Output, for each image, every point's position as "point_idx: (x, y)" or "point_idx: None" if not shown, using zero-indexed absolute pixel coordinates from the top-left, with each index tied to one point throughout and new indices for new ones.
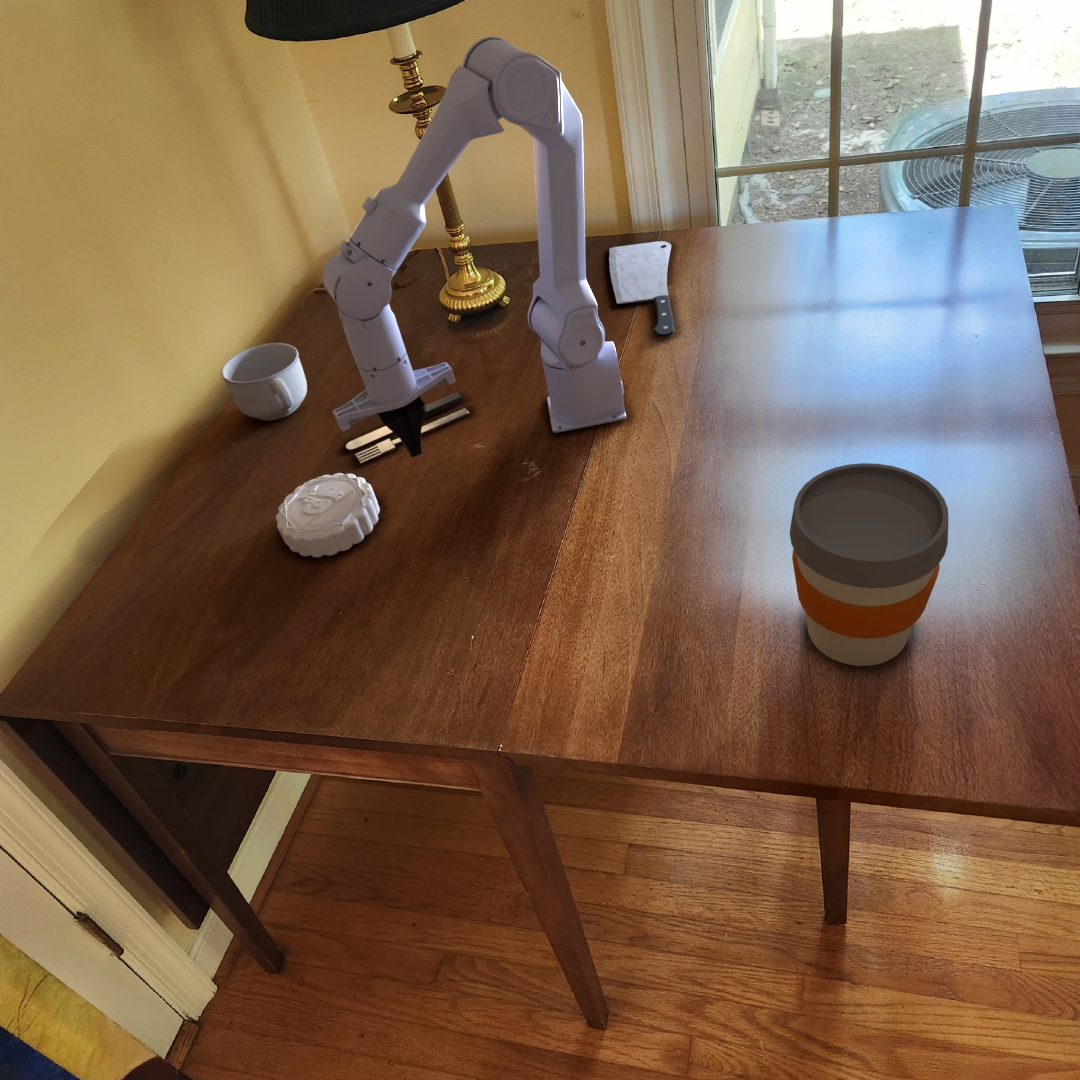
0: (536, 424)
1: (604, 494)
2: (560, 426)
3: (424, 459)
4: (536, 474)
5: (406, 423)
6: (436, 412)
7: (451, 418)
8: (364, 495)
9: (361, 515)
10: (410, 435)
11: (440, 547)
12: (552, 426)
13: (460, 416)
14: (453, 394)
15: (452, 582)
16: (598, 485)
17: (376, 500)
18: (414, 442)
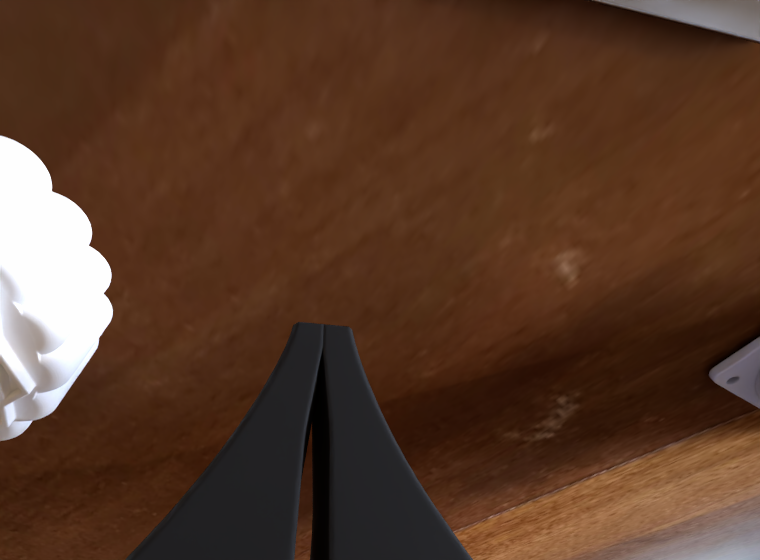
0: (741, 306)
1: (553, 518)
2: (738, 377)
3: (388, 177)
4: (539, 437)
5: (316, 545)
6: None
7: (693, 11)
8: (18, 396)
9: (2, 440)
10: (318, 457)
11: None
12: (732, 367)
13: (725, 33)
14: None
15: None
16: (569, 503)
17: (104, 289)
18: (312, 472)
